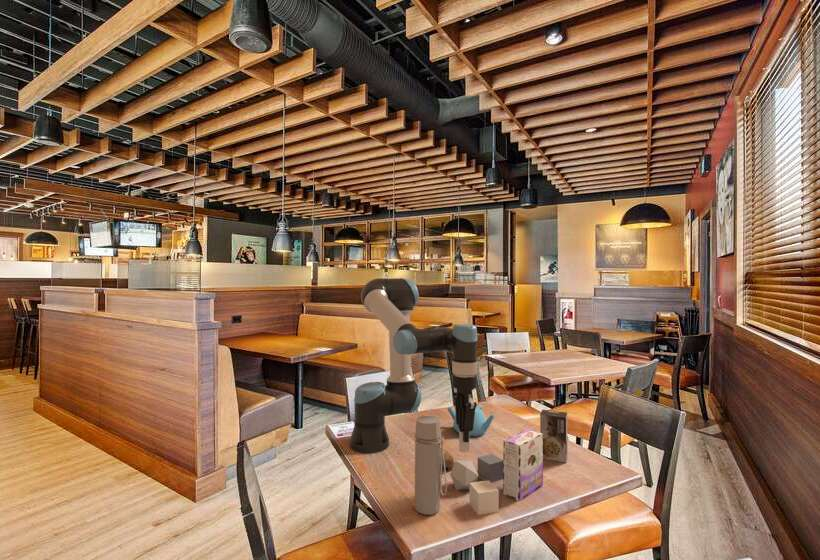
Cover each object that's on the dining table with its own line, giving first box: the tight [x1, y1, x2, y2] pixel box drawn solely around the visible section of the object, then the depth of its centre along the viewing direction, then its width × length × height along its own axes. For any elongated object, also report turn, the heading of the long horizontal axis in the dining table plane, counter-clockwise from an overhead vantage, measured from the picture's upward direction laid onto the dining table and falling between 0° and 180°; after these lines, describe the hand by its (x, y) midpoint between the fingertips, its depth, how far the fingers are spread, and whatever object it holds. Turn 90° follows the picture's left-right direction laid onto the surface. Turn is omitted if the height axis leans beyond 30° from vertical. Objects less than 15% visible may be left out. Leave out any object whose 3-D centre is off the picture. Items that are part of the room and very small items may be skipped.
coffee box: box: [539, 409, 569, 463], centre depth 149 cm, size 9×6×16 cm
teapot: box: [447, 404, 496, 437], centre depth 175 cm, size 15×17×11 cm
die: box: [449, 459, 479, 491], centre depth 127 cm, size 8×9×10 cm
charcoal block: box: [477, 453, 503, 484], centre depth 133 cm, size 6×6×6 cm
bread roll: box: [440, 447, 455, 474], centre depth 140 cm, size 10×10×8 cm
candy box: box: [502, 428, 544, 502], centre depth 125 cm, size 14×6×16 cm, turn 133°
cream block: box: [469, 480, 500, 516], centre depth 115 cm, size 6×6×6 cm
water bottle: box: [414, 415, 448, 516], centre depth 114 cm, size 9×8×25 cm
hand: (464, 450), depth 127 cm, fingers closed
